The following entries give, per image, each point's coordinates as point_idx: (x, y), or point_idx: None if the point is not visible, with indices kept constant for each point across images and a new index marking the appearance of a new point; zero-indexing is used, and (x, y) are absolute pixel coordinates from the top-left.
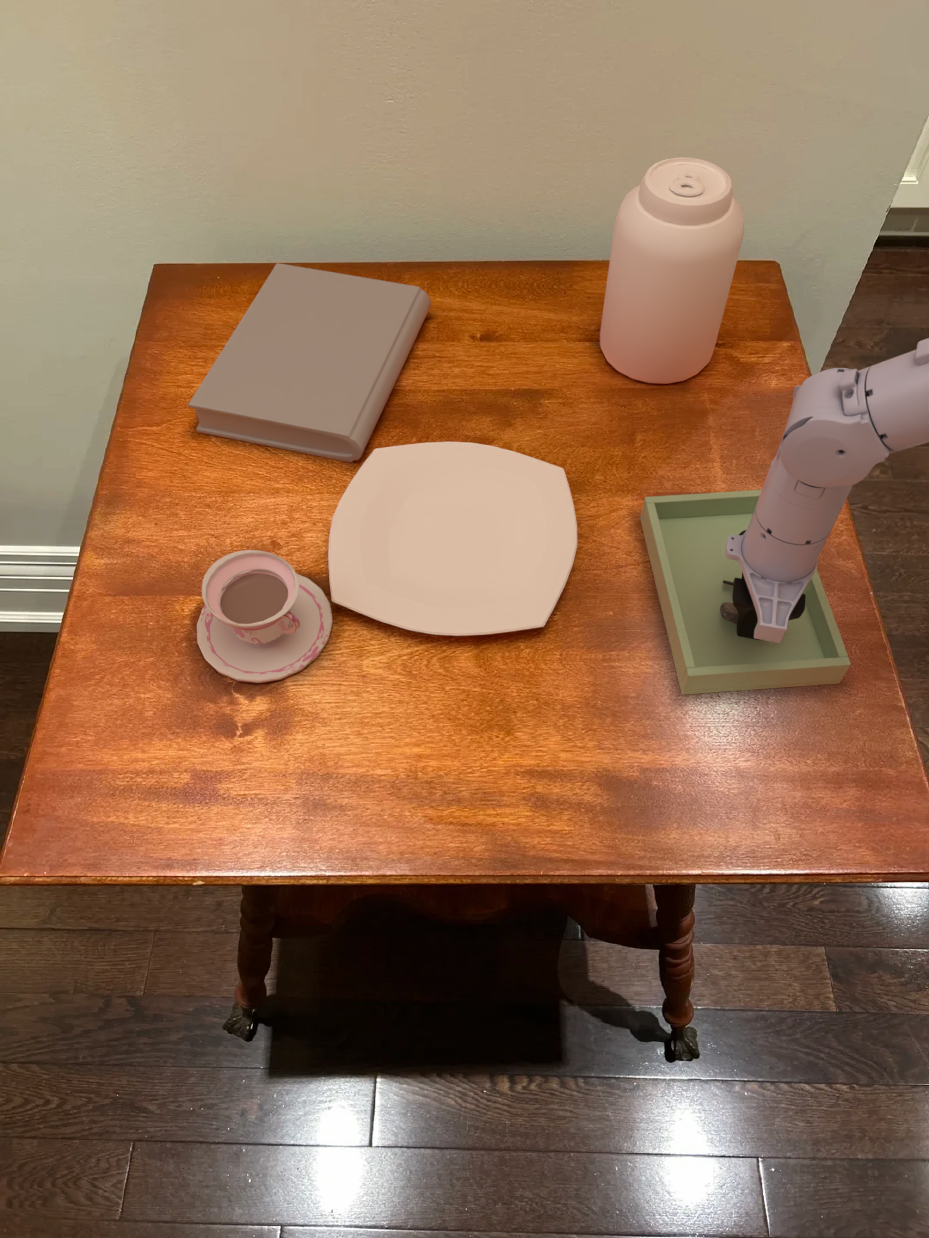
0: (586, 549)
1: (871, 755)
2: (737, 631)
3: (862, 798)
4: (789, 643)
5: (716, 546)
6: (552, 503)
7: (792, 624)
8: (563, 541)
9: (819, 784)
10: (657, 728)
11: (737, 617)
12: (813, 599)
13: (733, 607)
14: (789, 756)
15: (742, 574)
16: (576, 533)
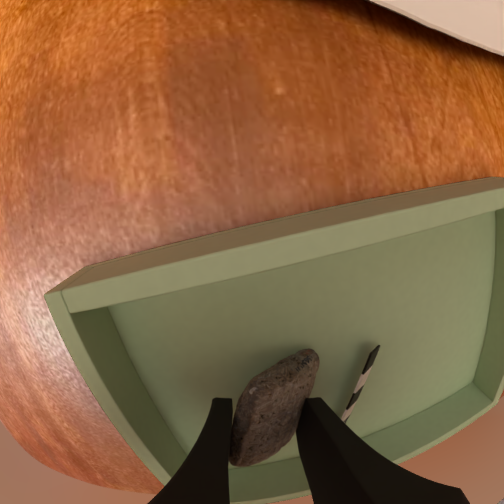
0: (427, 64)
1: (107, 471)
2: (211, 407)
3: (58, 451)
4: None
5: (447, 319)
6: (482, 19)
7: None
8: (424, 4)
9: (47, 425)
10: (20, 223)
11: (243, 416)
12: None
13: (281, 402)
14: (60, 408)
15: (347, 466)
16: (449, 33)
